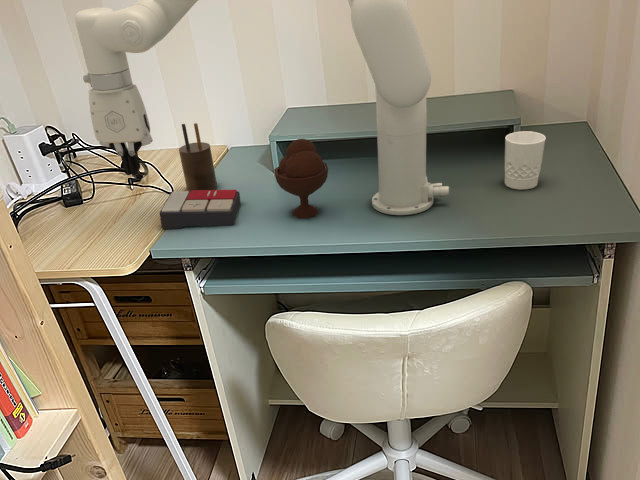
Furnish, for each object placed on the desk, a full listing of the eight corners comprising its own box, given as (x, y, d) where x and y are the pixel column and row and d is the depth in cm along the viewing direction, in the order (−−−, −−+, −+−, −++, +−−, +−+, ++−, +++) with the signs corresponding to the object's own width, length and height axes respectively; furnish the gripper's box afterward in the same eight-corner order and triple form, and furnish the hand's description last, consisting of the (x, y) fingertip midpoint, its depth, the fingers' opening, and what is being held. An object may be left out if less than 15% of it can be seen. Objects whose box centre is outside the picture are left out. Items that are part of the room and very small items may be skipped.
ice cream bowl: (271, 210, 136) (262, 140, 128) (320, 198, 139) (314, 129, 131) (289, 228, 128) (280, 155, 119) (340, 215, 131) (335, 143, 123)
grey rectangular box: (231, 208, 129) (158, 209, 130) (234, 228, 132) (161, 228, 132) (239, 187, 138) (170, 188, 139) (241, 206, 141) (173, 207, 141)
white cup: (526, 194, 132) (530, 146, 126) (494, 185, 137) (497, 139, 132) (548, 182, 136) (553, 135, 130) (516, 174, 141) (520, 128, 136)
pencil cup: (220, 183, 152) (209, 117, 143) (213, 194, 146) (200, 126, 137) (192, 184, 153) (178, 118, 144) (183, 196, 147) (169, 128, 138)
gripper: (65, 87, 120) (91, 180, 130) (142, 83, 118) (162, 178, 128) (82, 77, 126) (105, 167, 136) (155, 73, 124) (173, 165, 134)
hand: (133, 172), depth 132 cm, fingers closed
